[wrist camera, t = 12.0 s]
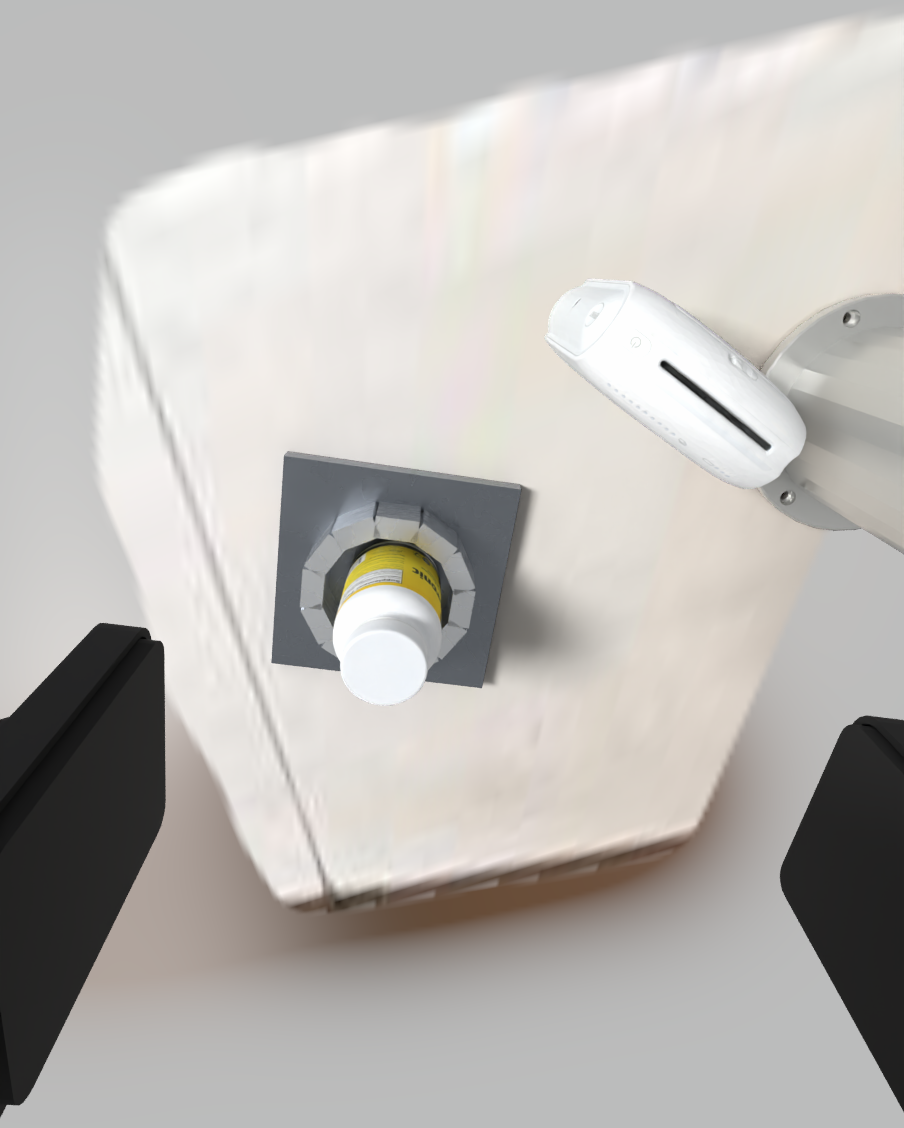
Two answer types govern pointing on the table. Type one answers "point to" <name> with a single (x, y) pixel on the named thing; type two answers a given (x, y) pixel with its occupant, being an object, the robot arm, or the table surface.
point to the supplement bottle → (388, 622)
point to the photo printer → (677, 380)
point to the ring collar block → (389, 513)
